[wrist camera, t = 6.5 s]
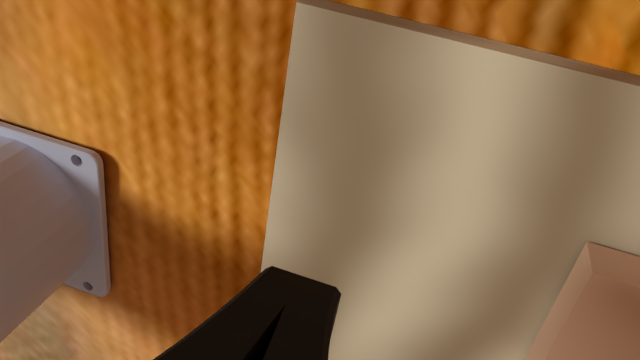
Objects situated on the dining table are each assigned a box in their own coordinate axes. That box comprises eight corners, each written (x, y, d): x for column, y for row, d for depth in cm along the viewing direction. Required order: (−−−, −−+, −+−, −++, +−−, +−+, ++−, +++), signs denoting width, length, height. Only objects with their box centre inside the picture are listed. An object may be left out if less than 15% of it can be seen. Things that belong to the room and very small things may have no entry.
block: (520, 402, 19) (688, 461, 18) (593, 273, 16) (801, 336, 15) (519, 364, 21) (676, 417, 20) (586, 238, 17) (776, 294, 17)
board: (257, 343, 26) (249, 359, 25) (307, -5, 17) (296, 2, 17) (639, 480, 23) (644, 503, 22) (922, 144, 15) (946, 161, 14)
